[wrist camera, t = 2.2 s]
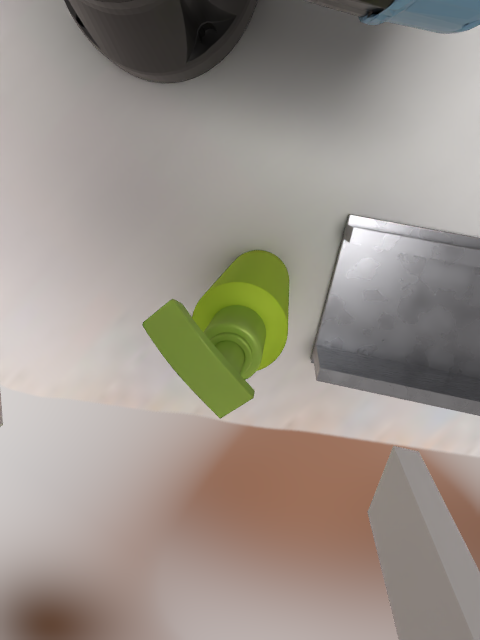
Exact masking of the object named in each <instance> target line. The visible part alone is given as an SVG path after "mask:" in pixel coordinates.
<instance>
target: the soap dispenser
mask: <svg viewBox="0 0 480 640" xmlns="http://www.w3.org/2000/svg"><path fill="white" fill-rule="evenodd" d="M288 306H289V275H288V271H287V269H286V267H285V265H284V263H283V262H282V261H281V260H280V259H279V258H278V257H277V256H275V255H274V254H272V253H269V252H267V251H262V250H254V251H249V252H246V253H244V254H242V255H241V256H239V257H238V258H237V259H236V260H235V261H234V262H233V263H232V264H231V265H230V266H229V267H228V269H227V270H226V271H225V272H224V273H223V274H222V275H221V276H220V278H219V279H218V280H217V281H216V282H215V283H214V284H213V285H212V286H211V288H210V289H209V290H208V291H207V292H206V293H205V294H204V295H203V296H202V298H201V299H200V300H199V302H198V303H197V305H196V307H195V309H194V312H193V316H192V317H191V315H190V314H189V313H188V311H187V310H186V308H185V307H184V306H183V304H182V303H180V302H178V301H176V300H174V299H172V300H170V301H169V302H168V303H166V304H165V305H164V306H163V307H161V308H160V309H159V310H158V311H156V312H155V313H154V314H153V315H152V316H150V317H149V318H148V319H147V320H145V321H144V322H143V327H144V328H145V330H146V332H147V333H148V335H149V336H150V338H151V339H152V341H153V342H154V344H155V345H156V347H157V348H158V349H159V351H160V352H161V354H162V355H163V356H164V358H165V359H166V360H167V362H168V363H169V364H170V365H171V367H172V368H173V369H174V370H175V371H176V373H177V374H178V375H179V376H180V377H181V378H182V380H183V381H184V382H185V383H186V384H187V385H188V386H189V387H190V388H191V389H192V390H193V391H194V392H195V394H196V395H197V396H198V397H199V398H200V399H201V400H202V401H203V402H204V403H205V404H206V405H207V406H208V407H209V408H210V409H211V410H212V411H213V412H214V413H215V414H216V415H217V416H218V417H219V418H222V417H224V416H225V415H227V414H228V413H230V412H232V411H233V410H235V409H236V408H238V407H240V406H241V405H243V404H244V403H246V402H248V401H249V400H251V399H252V398H253V397H254V392H255V391H254V390H253V389H252V387H251V386H250V385H249V384H248V383H247V382H246V381H245V380H246V379H248V378H249V377H251V376H252V375H253V374H254V373H255V372H256V371H258V370H261V369H263V368H265V367H267V366H268V365H270V364H271V363H272V362H273V361H275V360H276V359H277V357H278V356H279V355H280V353H281V352H282V350H283V348H284V346H285V343H286V340H287V335H288Z"/></svg>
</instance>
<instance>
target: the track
mask: <svg viewBox="0 0 480 640" xmlns="http://www.w3.org/2000/svg"><path fill="white" fill-rule="evenodd" d="M311 363H314V366H315V373H316V381H321V382H326V383H330V384H335V385H340V386H344V387H349V388H353V389H358V390H363V391H367V392H372V393H377V394H381V395H386V396H390V397H395V398H400V399H404V400H409V401H414V402H418V403H423V404H428V405H432V406H437V407H441V408H446V409H451V410H455V411H460V412H465V413H469V414H474V415H478V416H480V238H476V237H471V236H465V235H460V234H454V233H449V232H443V231H438V230H432V229H427V228H421V227H415V226H410V225H404V224H399V223H393V222H388V221H382V220H377V219H371V218H366V217H360V216H355V215H348V219H347V222H346V226H345V230H344V234H343V238H342V241H341V245H340V249H339V253H338V257H337V260H336V264H335V268H334V272H333V275H332V279H331V283H330V287H329V291H328V294H327V298H326V302H325V306H324V309H323V313H322V317H321V321H320V325H319V328H318V332H317V336H316V340H315V344H314V347H313V351H312V355H311Z"/></svg>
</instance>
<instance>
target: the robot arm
mask: <svg viewBox="0 0 480 640" xmlns="http://www.w3.org/2000/svg"><path fill="white" fill-rule="evenodd" d="M64 1H65V3H66V5H67V7H68V9H69V11H70V13H71V15H72V17H73V18H74V20H75V22H76V23H77V25H78V26H79V28H80V29H81V31H82V32H83V33H84V35H85V36H86V37H87V38H88V40H89V41H90V42H91V43H92V44H93V45H94V46H95V47H96V48H97V49H98V50H99V51H100V52H101V53H102V54H103V55H105V56H106V57H107V58H108V59H110V60H111V61H112V62H114V63H115V64H116V65H118V66H119V67H120V68H122V69H123V70H125V71H127V72H128V73H130V74H132V75H134V76H136V77H139V78H141V79H145V80H148V81H153V82H160V83H173V82H180V81H185V80H188V79H191V78H194V77H196V76H199V75H201V74H203V73H205V72H206V71H208V70H209V69H211V68H212V67H214V66H215V65H216V64H218V63H219V62H220V61H221V60H222V59H223V58H224V57H225V56H226V55H227V54H228V53H229V52H230V51H231V50H232V49H233V47H234V46H235V45H236V43H237V42H238V41H239V39H240V38H241V36H242V34H243V33H244V31H245V29H246V27H247V25H248V23H249V21H250V19H251V17H252V14H253V12H254V9H255V6H256V3H257V0H64ZM304 1H308V2H311V3H315V4H318V5H322V6H325V7H328V8H332V9H335V10H339V11H342V12H346V13H349V14H352V15H356V16H359V19H360V22H362V23H365V24H368V25H379V24H381V23H383V22H390V23H394V24H399V25H404V26H408V27H413V28H418V29H422V30H427V31H432V32H436V33H442V34H450V33H459V32H463V31H467V30H470V29H472V28H474V27H476V26H478V25H480V0H304ZM2 425H3V421H2V406H1V393H0V427H1V426H2ZM368 516H369V520H370V524H371V528H372V532H373V536H374V540H375V544H376V549H377V552H378V556H379V560H380V565H381V569H382V573H383V577H384V581H385V585H386V589H387V594H388V598H389V602H390V606H391V610H392V614H393V618H394V622H395V626H396V630H397V634H398V638H399V640H480V572H479V570H478V568H477V566H476V564H475V562H474V560H473V558H472V556H471V554H470V552H469V550H468V548H467V546H466V544H465V542H464V540H463V538H462V536H461V534H460V533H459V530H458V528H457V526H456V524H455V523H454V520H453V519H452V516H451V514H450V513H449V511H448V509H447V507H446V505H445V503H444V501H443V499H442V497H441V495H440V493H439V491H438V489H437V487H436V485H435V483H434V481H433V479H432V477H431V475H430V473H429V471H428V469H427V467H426V465H425V463H424V461H423V459H422V457H421V455H420V453H419V452H418V451H414V450H409V449H405V448H400V447H396V446H393V449H392V451H391V454H390V456H389V459H388V461H387V464H386V466H385V469H384V472H383V475H382V477H381V479H380V482H379V485H378V487H377V490H376V492H375V495H374V497H373V500H372V502H371V505H370V508H369V510H368Z"/></svg>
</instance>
